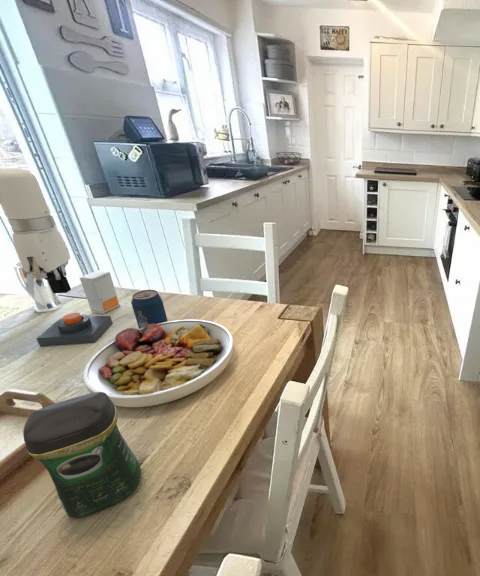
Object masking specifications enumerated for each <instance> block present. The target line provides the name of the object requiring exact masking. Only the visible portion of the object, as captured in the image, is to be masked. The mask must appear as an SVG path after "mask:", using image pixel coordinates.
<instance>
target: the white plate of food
mask: <svg viewBox="0 0 480 576" xmlns="http://www.w3.org/2000/svg"><path fill="white" fill-rule="evenodd" d="M234 345H235V344H234V338H233V334H231V332H230V330H228V329H227V328H226V327H225V326H223V325H222V324H219V323H217V322H214V321H211V320H203V319H177V320H169V321H168V322H163V323H159V324H153V323H152V324H148V325H147V326H146V327H144V328H141V329H139V328H135V327H128V328H124V329H123V330H121V331H120V332H118V333H117V334H116V336H115V339H114V340H112V341H111V342H109V343H107V344H106V345H105V346H103V347H102V348H101V349H99V350H98V351H97V352H96V353H95V354H94V355H93V356H92V357H91V358H90V359H89V360H88V362H87V364H86V365H85V366H84V370H83V374H82V378H83V382H84V385H85V387H86V390H87V391H88V392H89V394H90V393H95V392H104V393H106V394H107V395H108V397H109V398H110V400H111V401H112V402H113V404H114V405H115V406H116V407H122V408H144V407H145V408H146V407H153V406H158V405H162V404H166V403H170V402H174V401H177V400H179V399H182V398H184V397H186V396H189V395H191V394H193V393H195V392H197V391H199V390H200V389H202V388H204V387H205V386H207V385H209V384H210V383H211V382H213V381H214V380H215V379H217V377H219V375H221V374H222V373H223V371H224V370H225V369H226V367H227V366H228V365H229V363H230V361H231V359H232V356H233V353H234V347H235V346H234Z"/></svg>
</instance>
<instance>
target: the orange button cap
mask: <svg viewBox="0 0 480 576" xmlns="http://www.w3.org/2000/svg"><path fill="white" fill-rule="evenodd" d="M62 318H63V321H64V323H65V325H71V324H75V323H78V322H81V321H82V317H81V313H80V312H71V313H68V314H65V315H64V316H62Z"/></svg>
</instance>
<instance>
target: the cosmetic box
mask: <svg viewBox="0 0 480 576" xmlns="http://www.w3.org/2000/svg"><path fill="white" fill-rule="evenodd" d="M79 280H80V283H81V286H82V289H83V291H84V294H85V297H86V300H87V303H88V306H89V309H90V311H91V313H94V314H99V315H104V314H107V312H110V311H112V310H113V309H116V308H118V307H120V300H119V297H118V295H117V291H116V288H115V285H114V281H113V278H112V275H111V272H110V271H106V270H101V269H97V270H95V271H92V272H89V273H87V274H85V275H82V276H79Z"/></svg>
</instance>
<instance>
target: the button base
mask: <svg viewBox="0 0 480 576" xmlns="http://www.w3.org/2000/svg"><path fill="white" fill-rule="evenodd" d="M80 315H81V317H82V321H81V322H78V323H75V324H71V325H65V323H64V321H63V317H61V318H59V319H58V320H57V321H56V322H54V323H53V324H52V325H50V326H49V327H48V328H46V330H44V331H42V333H41V334H40V335H38V336H37V337H36V341H37V343H38V345H39V347H41V348H42V347H55V346H72V345H84V344H85V345H87V344H95V343H96V342H97V341H98V340H99V339H100V338H101V337H102V336H103V334H105V333H106V331H107V330H108V329H109V328H110V327H111V326H112V325H113V323H114V321H113V319H112V317H111V315H96V316H95V315H94V316H93V315H92V316H90V315H87V314H84V313H83V314H81V313H80Z"/></svg>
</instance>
